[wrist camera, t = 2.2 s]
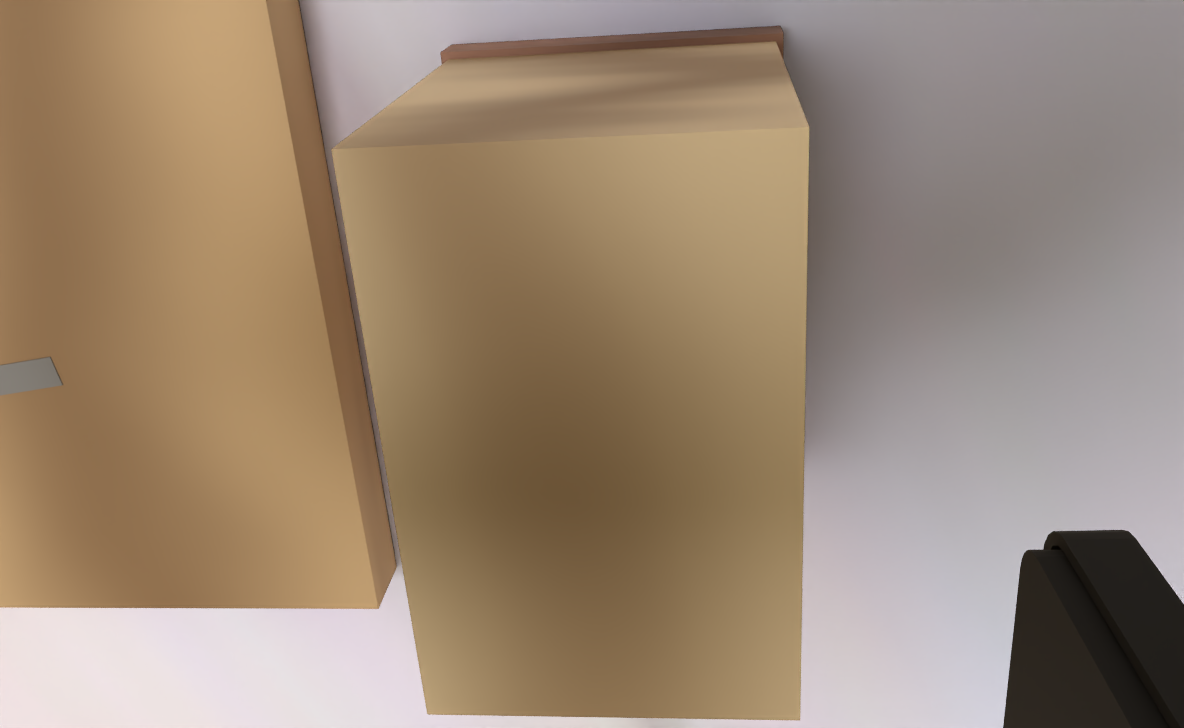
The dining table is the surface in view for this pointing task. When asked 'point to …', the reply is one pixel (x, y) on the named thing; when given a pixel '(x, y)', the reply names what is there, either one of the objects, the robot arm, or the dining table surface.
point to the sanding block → (592, 370)
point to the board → (176, 318)
